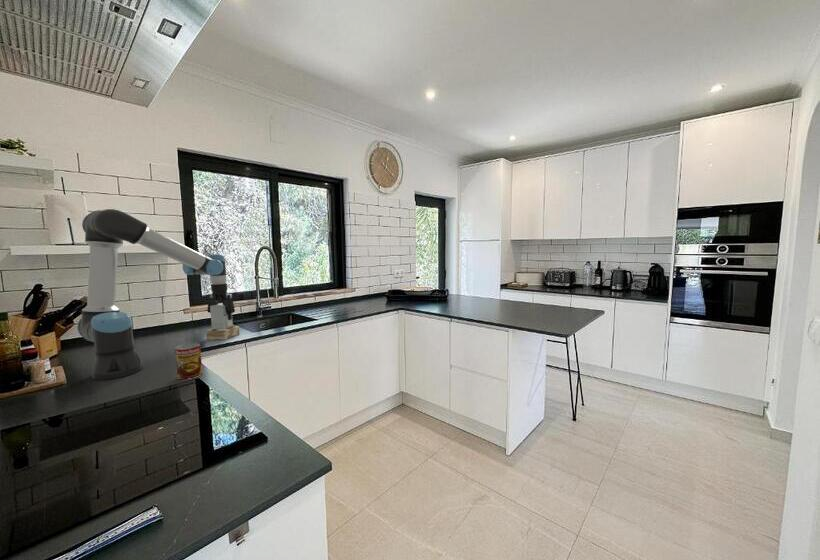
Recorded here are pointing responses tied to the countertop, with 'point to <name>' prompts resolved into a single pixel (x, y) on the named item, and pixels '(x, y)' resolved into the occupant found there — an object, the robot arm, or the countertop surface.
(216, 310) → the supplement box
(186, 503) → the countertop surface
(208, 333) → the display pedestal
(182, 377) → the canned food
